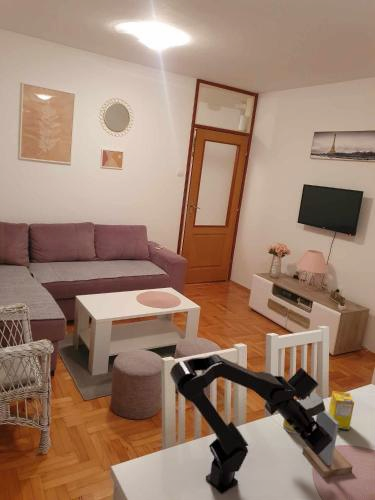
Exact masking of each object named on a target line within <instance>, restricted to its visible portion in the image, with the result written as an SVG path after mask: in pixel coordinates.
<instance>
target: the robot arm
mask: <svg viewBox="0 0 375 500" xmlns="http://www.w3.org/2000/svg"><path fill="white" fill-rule="evenodd" d="M196 371H204V372H203V373H201V374H197V372H196ZM169 374H170V377H171V380H172V381H173V383H174V385H175V387H176V389H177V391H178V393H179V394H180V395H182V396H183V397H184V399H186V400H187V401H188V402H191V403H192V404H193V405H194V406H195V408H196V409H197V410H198V412H199V413H200V414H201V415H202V417H203V419H204V421H206V423H207V424H208V425H209V427H210V428H211V429H212V431H213V433H214V434H215V437H216V438H215V439H214V440H213V441H212V443H210V444H209V445H208V448H209V450H210V452H211V454H212V456H213V460H212V461H211V465H210V473H209V474H207V475H206V476H205V479H206V481H208V483H209V484H210V485H211V486H213V487H214V488H215V489H216V490H217V491H218V492H219V493H220V494H224V493H225V492H228V491H229V490H230V489H232V488H234V487H235V486H236V485H238V483H239V480H238V479H236V478H235V475H236V472H239V471H240V470H241V467H242V465H243V463H244V462H245V459H246V456H247V455H248V453H249V449H248V446H249V444H248V442H247V441H246V439H245V438H244V437H243V435H242V433H241V431H240V430H239V428H238V427H237V426H236V424H235V423H234V422H233V421H232V420H231V421H230V422H229V423H227V422H225V420H224V418H223V417H222V416H221V414H220V413H219V411H217V409H216V407H215V406H214V404H213V403H212V401H211V399H210V398H209V397H208V396H207V394H206V393H205V389H206V388H207V387H209V386H210V385H211V384H212V383H213V382H214V381H215V380H217V379H218V378H222V379H225V380H228V381H229V382H232V383H235V384H237V385H239V386H242V387H244V388H246V389H248V390H251V391H253V392H255V393H256V394H257V395H258V396H259V397H260V398H261V399H263V400H265V404H264V408H265V409H266V410H267V412H268V413H269V414H270V415H271V416H273V415H274V414H275V413H276V412H278V413H279V414H280V416H282V418H283V420H284V419H285V420H286V421H287V422H288V423H289V424H290V425H291V426H292V427H293V429H294V430H295V431H296V432H297V434H298V435H299V436H300V438H301V439H302V440H303V441H304V443H305V445H306V446H307V447H309V448H310V449H311V450H312V451H313V452H314V453H315V454H316V455H319V454H320V453H321V452H322V451H323V450H324V449H325V448H326V446H327V445H328V444H329V443H330V442H331V441H332V437H331V436H330V435H329V434H328V433H327V432H326V431H325V429H324V428H323V427H322V426H320V425H319V424H318V423H317V422H316V418H314V417H315V416H317V414H319V413H320V412H323V411H326V406H325V401H324V399H323V398H322V397H321V396H320V395H319V394H318V393H316V392H314V390H315V389H316V388H317V387H318V386H319V383H318V382H317V381H316V380H315V379H314V378H313V377H312V376H311V375H310V374H308V372H307V371H306V370H305V369H304V368H302V367H299V368H298V369H297V371H296V373H294V375H292V376H291V377H290V378H289V379H288V380H287V379H286V378H285V377H284V376H282V375H273V374H272V373H270V372H269V373H268V372H265V371H258V372H257V371H253V370H250V369H249V368H246V367H244V366H241V365H239V364H237V363H234V362H232V361H230V360H228V359H226V358H223V357H221V356H220V355H219V354H216V353H214V354H213V353H212V354H210V355H207V356H201V357H192V358H191V357H190V358H188V359H187V360H184V361H183V360H182V361H178V362H177V363H176V362H175V364H174V365H173V366H172V367H171V370H170V373H169ZM295 397H296V398H297V399H296V398H295ZM297 400H299V402H298V401H297Z"/></svg>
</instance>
